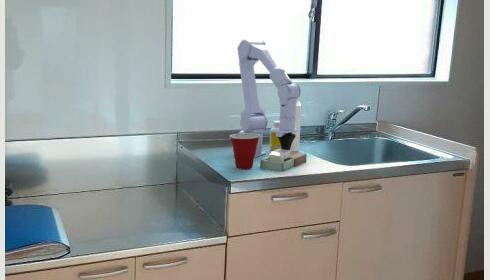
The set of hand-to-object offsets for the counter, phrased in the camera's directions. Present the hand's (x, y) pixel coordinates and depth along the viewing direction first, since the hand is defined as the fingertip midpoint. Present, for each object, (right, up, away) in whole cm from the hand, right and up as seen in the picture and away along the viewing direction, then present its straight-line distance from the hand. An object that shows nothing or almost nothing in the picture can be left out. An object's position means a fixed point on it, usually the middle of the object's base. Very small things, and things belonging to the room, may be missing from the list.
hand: (285, 153), depth 198 cm
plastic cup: (-16, -5, -8) cm, 18 cm away
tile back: (-2, -1, -3) cm, 4 cm away
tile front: (-3, -1, -5) cm, 6 cm away
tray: (-3, -5, -5) cm, 8 cm away
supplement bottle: (-2, -1, +17) cm, 18 cm away
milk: (+3, +1, +24) cm, 25 cm away
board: (+1, -3, +3) cm, 5 cm away
